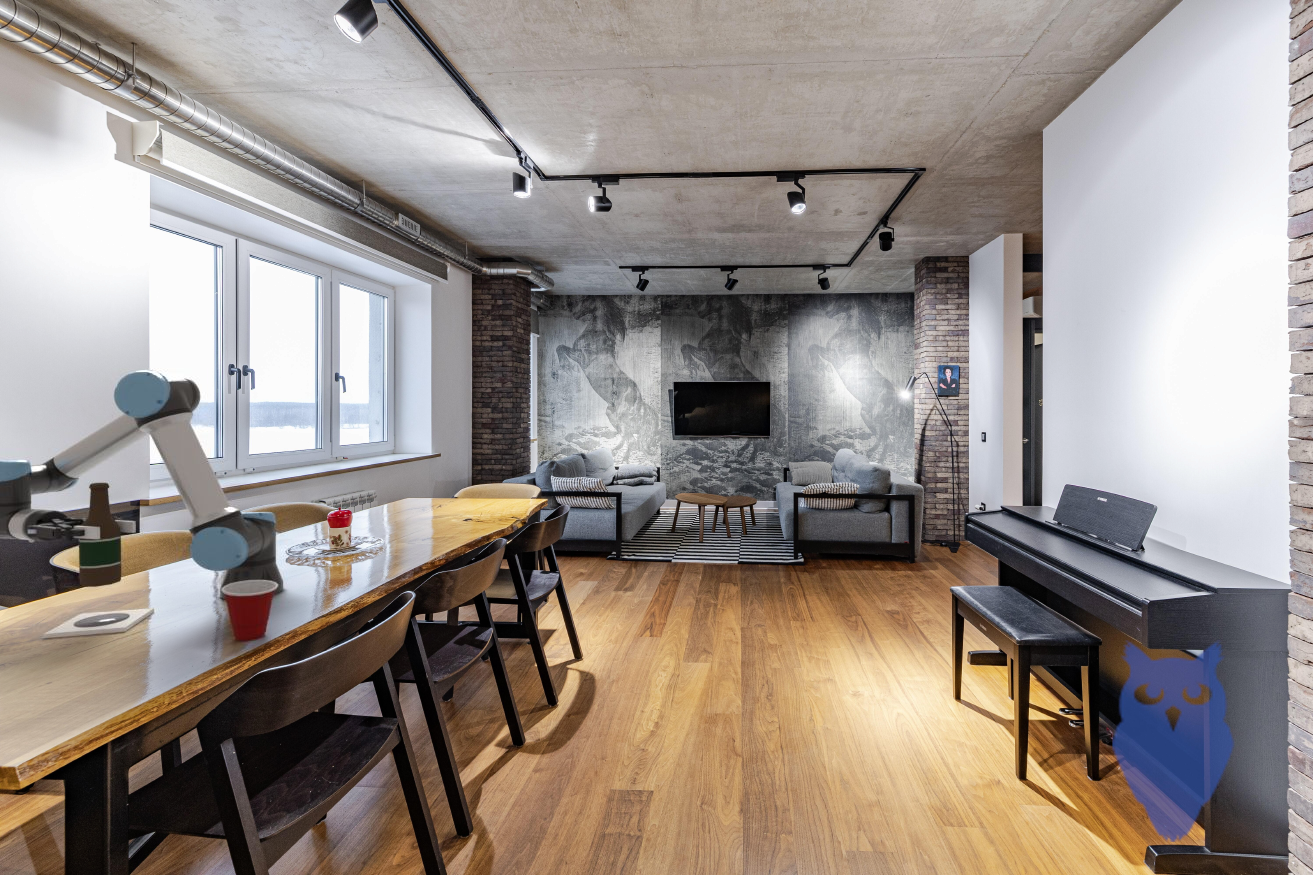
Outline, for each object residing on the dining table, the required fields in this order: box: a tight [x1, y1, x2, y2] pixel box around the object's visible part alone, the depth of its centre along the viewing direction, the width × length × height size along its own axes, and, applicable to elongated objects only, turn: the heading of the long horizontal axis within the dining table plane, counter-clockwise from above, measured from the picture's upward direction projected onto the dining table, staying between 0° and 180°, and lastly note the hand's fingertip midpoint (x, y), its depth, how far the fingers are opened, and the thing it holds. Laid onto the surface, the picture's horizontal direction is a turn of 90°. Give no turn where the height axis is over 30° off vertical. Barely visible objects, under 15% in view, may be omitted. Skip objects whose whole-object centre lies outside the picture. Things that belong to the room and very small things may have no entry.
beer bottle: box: [78, 482, 122, 588], centre depth 148 cm, size 8×8×24 cm
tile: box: [43, 607, 155, 639], centre depth 148 cm, size 15×15×1 cm
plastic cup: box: [222, 580, 278, 642], centre depth 141 cm, size 11×11×12 cm
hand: (116, 530), depth 147 cm, fingers closed on beer bottle, 7 cm apart
